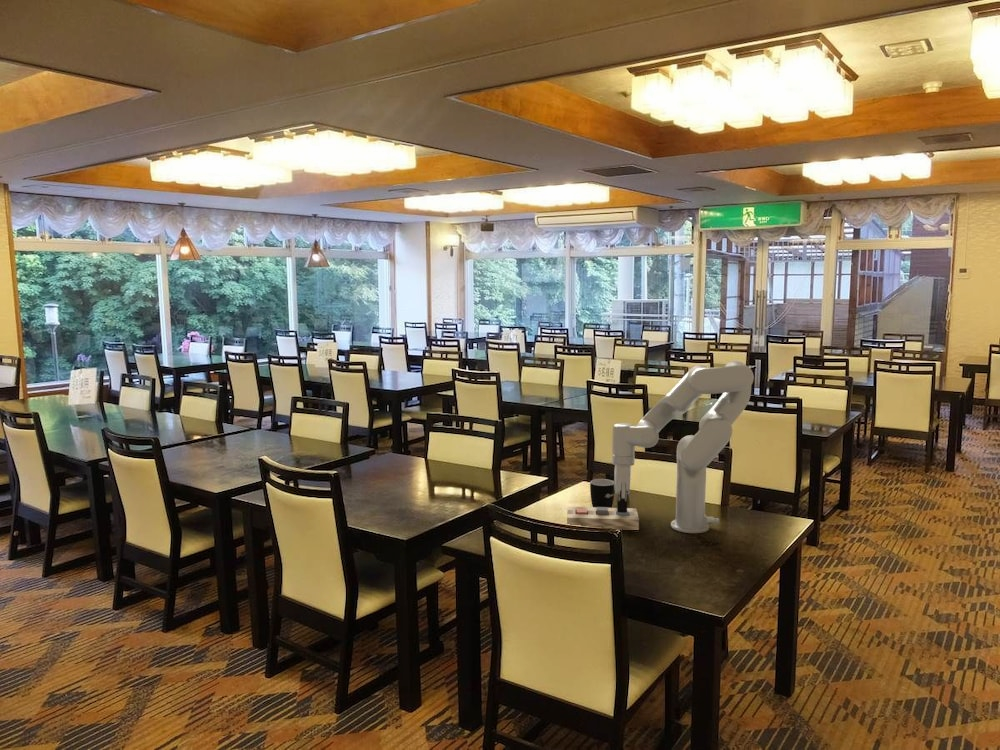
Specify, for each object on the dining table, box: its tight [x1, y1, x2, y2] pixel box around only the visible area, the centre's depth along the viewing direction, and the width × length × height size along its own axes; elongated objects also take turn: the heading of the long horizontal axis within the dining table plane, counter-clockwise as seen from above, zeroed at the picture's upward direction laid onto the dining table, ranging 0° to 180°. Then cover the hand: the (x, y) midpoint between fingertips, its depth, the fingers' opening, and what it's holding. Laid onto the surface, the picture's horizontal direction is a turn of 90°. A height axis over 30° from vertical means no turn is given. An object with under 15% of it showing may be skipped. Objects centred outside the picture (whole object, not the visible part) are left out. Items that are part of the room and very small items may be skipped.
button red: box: [577, 509, 587, 514], centre depth 250 cm, size 4×4×3 cm
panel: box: [566, 506, 640, 532], centre depth 249 cm, size 24×12×4 cm, turn 84°
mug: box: [589, 478, 616, 508], centre depth 267 cm, size 12×9×10 cm
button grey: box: [597, 507, 608, 515], centre depth 249 cm, size 4×4×3 cm
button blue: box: [617, 510, 628, 516], centre depth 248 cm, size 4×4×3 cm
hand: (622, 511), depth 248 cm, fingers closed
